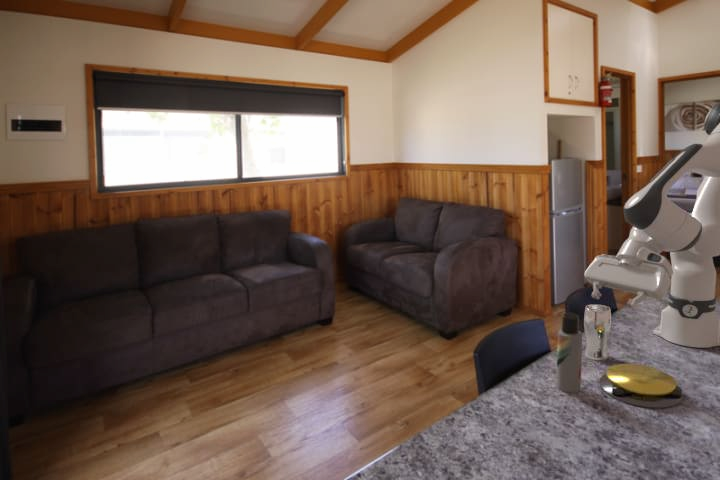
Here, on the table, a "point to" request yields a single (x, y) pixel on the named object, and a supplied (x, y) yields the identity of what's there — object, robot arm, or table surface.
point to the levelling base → (641, 398)
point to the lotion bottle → (569, 354)
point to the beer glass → (597, 331)
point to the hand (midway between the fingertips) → (611, 302)
